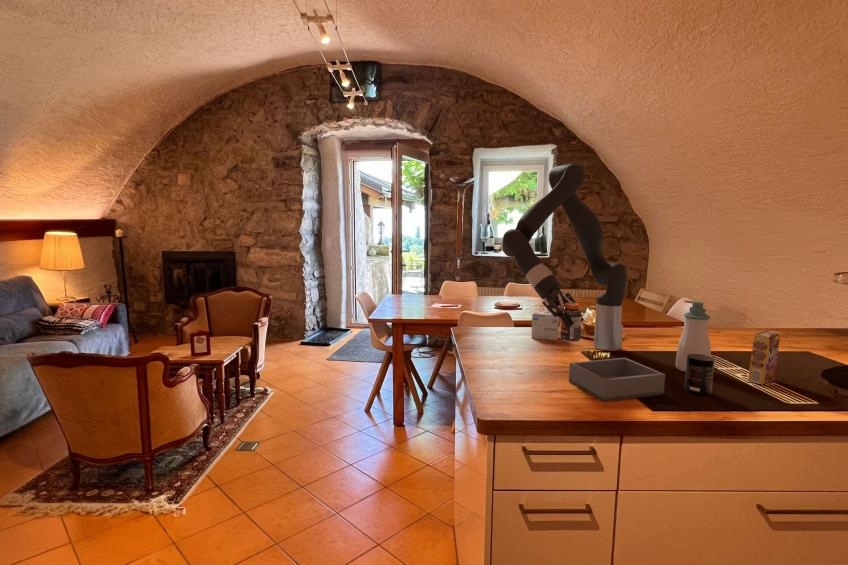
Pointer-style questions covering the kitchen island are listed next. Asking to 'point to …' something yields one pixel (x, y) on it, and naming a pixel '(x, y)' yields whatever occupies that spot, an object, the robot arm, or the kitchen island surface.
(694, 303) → the soap bottle
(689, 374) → the supplement container
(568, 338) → the pill bottle
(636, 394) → the tote
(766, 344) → the candy box
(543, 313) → the light bulb box
